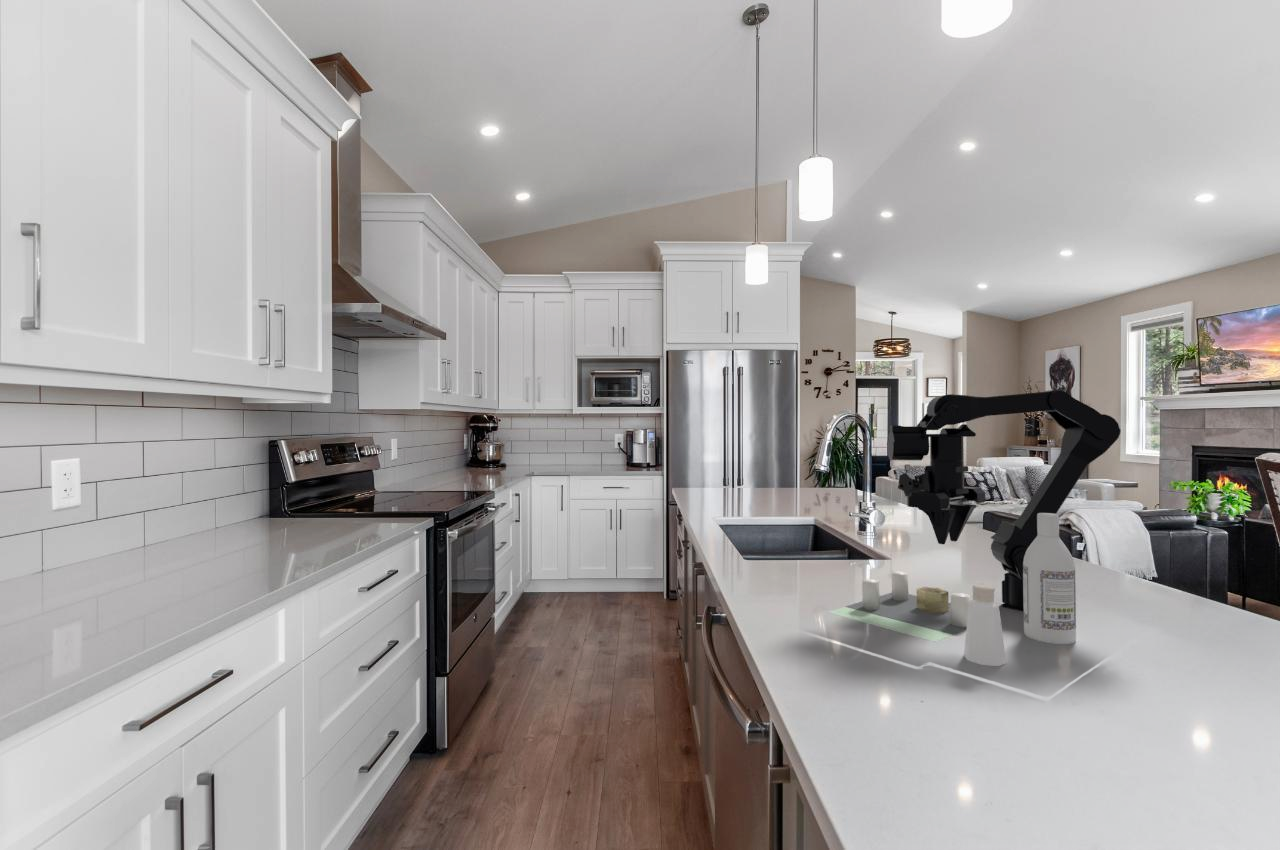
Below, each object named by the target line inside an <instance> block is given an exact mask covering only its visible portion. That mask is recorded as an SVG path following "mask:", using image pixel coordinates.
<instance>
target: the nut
mask: <svg viewBox="0 0 1280 850" xmlns="http://www.w3.org/2000/svg"><path fill="white" fill-rule="evenodd" d="M916 596H917V608H918V609H920V610H922V611H924V612H930V613H940V614H942V613H944V612H947V611H949V603H950V602H949V591H947V590H946V589H945V590H944V589H943V588H941V587H934V586H933V587H931V586H922V587H918V588H916Z"/></svg>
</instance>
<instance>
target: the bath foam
mask: <svg viewBox="0 0 1280 850" xmlns="http://www.w3.org/2000/svg"><path fill="white" fill-rule="evenodd" d="M1037 534H1038V535H1037V537H1036V538H1035V539H1034V541H1033V542H1032V543H1031V545H1030V546H1029V547H1028V549H1027V551H1026V553H1025V556H1024V560H1023V607H1024V611H1023V633H1024V635H1025V636H1026V637H1028V638H1029V639H1032V640H1035V641H1038V642H1042V643H1047V644H1055V645H1071V644H1074V643H1075V642H1076V641H1077V607H1076V606H1077V603H1076V602H1077V601H1076V597H1077V596H1076V565H1075V561H1074V558H1073V556H1072V555H1073V554H1071V552H1070V550H1069V549H1068V547H1067V546H1066V545H1065V543H1064V542H1063V540H1061V539H1062V538H1061V537H1060V514H1057V513H1056V514H1053V513H1038V514H1037ZM1075 644H1076V643H1075Z"/></svg>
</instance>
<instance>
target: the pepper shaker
mask: <svg viewBox="0 0 1280 850" xmlns="http://www.w3.org/2000/svg"><path fill="white" fill-rule="evenodd" d="M973 590H974V592H973ZM995 591H996V588H995V587H994V586H993V585H991V584H987V583H975V584H973V585H972V596H973V595H974V600H973V599H971V601H970V603H969V610H968V620H967V629H965V630H966V632H965V640H964V651H963V653H964V654H963V656H964V658H966V660H967V661H968V662H972V663H974V664H978V665H981V666H991V667H993V666H994V667H1000V666H1003V665H1006V664H1007V658H1006V651H1005V643H1004V636H1003V635H1004V634H1003V628H1002V627H1003V626H1002V619H1001V613H1000V607H999V606H1000V605H999V604H997V603H996V602H995Z"/></svg>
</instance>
